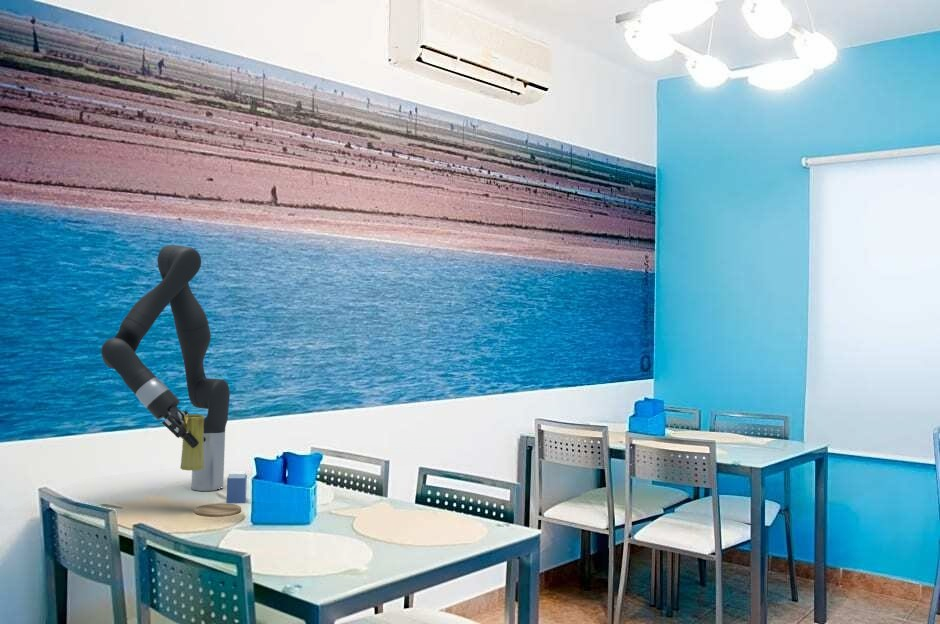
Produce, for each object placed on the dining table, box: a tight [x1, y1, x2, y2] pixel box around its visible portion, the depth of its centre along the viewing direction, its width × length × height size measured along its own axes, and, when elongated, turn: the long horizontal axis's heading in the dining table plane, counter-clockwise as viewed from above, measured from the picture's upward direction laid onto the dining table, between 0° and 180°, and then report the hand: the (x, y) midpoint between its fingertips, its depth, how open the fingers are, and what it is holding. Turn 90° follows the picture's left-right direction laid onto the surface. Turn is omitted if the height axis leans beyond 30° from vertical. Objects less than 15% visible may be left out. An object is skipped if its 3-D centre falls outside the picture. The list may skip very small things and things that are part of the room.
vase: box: [179, 414, 205, 471], centre depth 230 cm, size 6×6×14 cm
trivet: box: [194, 502, 242, 518], centre depth 230 cm, size 12×12×1 cm
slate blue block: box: [225, 470, 248, 504], centre depth 243 cm, size 5×5×8 cm
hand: (199, 443), depth 230 cm, fingers closed on vase, 5 cm apart
